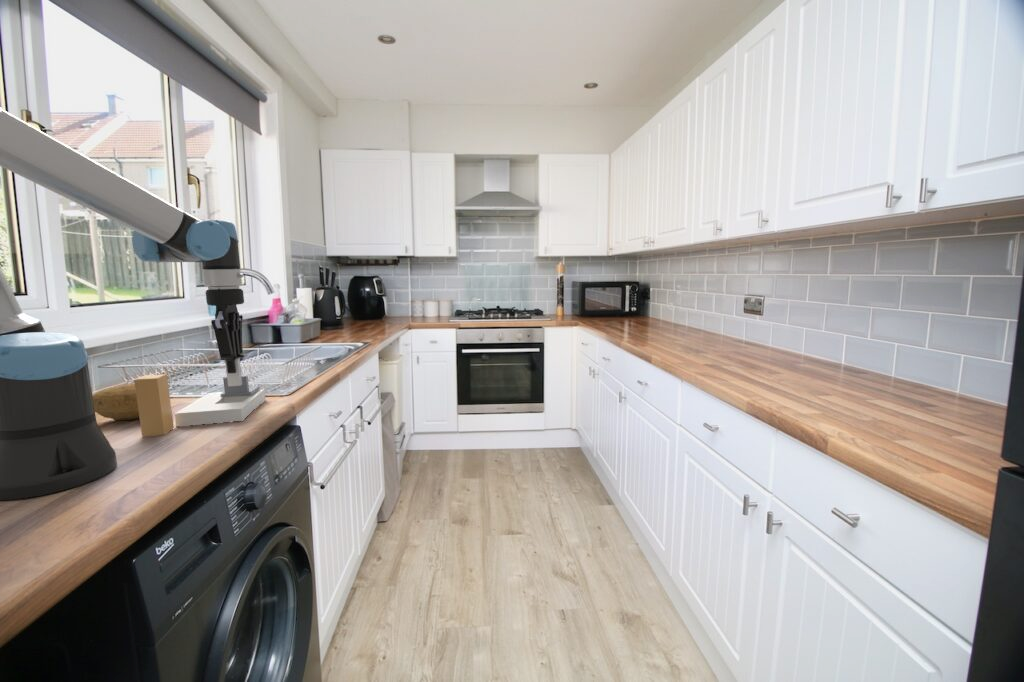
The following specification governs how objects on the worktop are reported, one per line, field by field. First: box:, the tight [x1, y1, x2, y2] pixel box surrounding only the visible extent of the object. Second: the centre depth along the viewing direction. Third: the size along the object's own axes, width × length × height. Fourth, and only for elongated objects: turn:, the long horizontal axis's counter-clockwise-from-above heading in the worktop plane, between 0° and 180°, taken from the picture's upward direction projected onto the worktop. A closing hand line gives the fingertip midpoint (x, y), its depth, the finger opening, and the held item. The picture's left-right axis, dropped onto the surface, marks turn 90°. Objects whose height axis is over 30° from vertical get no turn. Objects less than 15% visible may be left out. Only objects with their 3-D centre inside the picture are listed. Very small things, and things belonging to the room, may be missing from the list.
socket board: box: [174, 388, 266, 427], centre depth 108 cm, size 18×13×3 cm
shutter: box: [220, 374, 261, 397], centre depth 113 cm, size 7×7×5 cm
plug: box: [133, 373, 175, 437], centre depth 94 cm, size 4×4×12 cm
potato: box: [93, 383, 140, 421], centre depth 104 cm, size 10×14×8 cm
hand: (235, 385), depth 109 cm, fingers closed
